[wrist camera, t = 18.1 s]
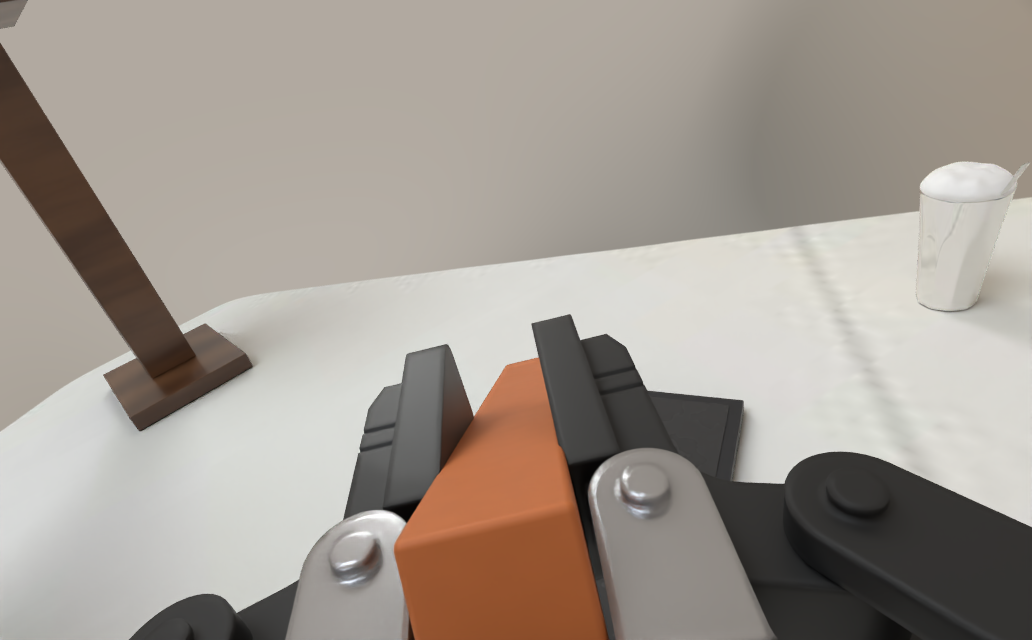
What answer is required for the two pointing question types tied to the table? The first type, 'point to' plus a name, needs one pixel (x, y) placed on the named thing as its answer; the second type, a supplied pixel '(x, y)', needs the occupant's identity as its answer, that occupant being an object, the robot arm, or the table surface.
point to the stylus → (502, 531)
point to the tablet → (695, 443)
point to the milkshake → (960, 231)
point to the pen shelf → (106, 261)
